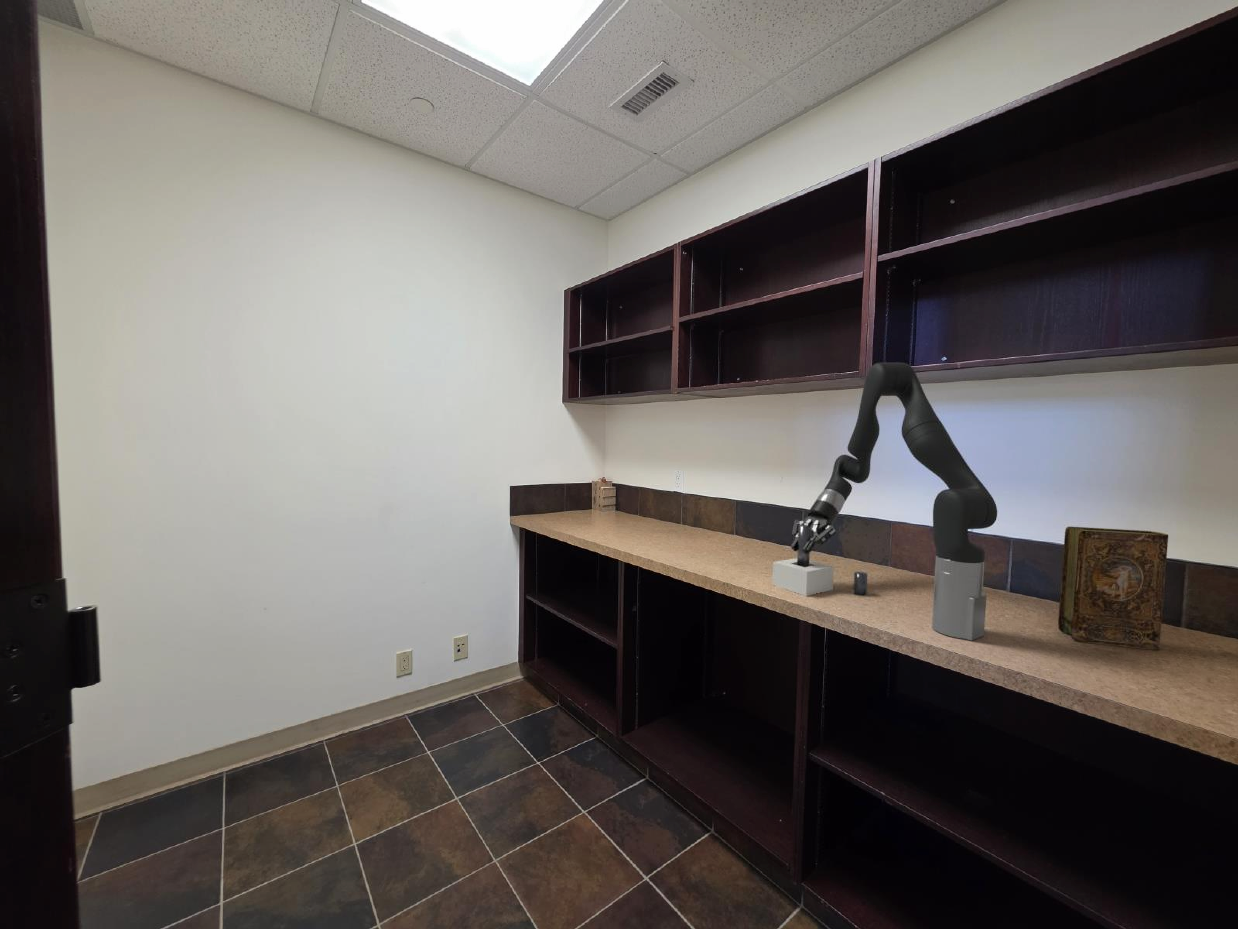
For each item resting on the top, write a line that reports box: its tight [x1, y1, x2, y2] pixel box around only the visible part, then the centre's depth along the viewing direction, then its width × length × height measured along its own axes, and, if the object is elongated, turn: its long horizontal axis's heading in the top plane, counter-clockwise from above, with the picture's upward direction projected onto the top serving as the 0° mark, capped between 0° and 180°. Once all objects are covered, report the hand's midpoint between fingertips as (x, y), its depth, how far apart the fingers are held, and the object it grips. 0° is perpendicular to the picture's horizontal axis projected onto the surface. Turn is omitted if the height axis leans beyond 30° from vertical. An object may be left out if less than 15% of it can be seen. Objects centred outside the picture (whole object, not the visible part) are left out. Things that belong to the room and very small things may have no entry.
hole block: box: [771, 557, 835, 597], centre depth 147 cm, size 12×12×7 cm
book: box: [1057, 526, 1169, 651], centre depth 110 cm, size 16×6×25 cm, turn 73°
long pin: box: [796, 525, 811, 567], centre depth 146 cm, size 3×3×13 cm
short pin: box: [852, 571, 869, 597], centre depth 142 cm, size 3×3×6 cm
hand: (799, 550), depth 145 cm, fingers closed on long pin, 3 cm apart
